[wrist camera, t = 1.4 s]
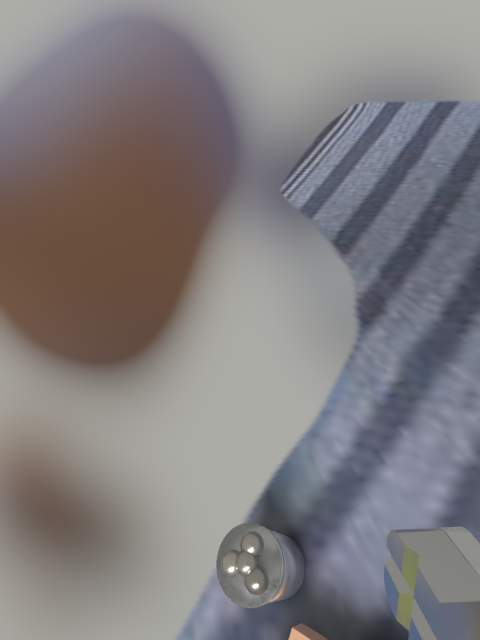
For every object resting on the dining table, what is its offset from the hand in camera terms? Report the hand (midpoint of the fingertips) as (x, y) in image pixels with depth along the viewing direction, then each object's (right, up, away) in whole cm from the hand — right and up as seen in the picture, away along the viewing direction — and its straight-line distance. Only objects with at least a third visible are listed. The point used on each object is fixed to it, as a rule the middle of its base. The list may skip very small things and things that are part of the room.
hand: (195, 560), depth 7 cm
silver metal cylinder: (+5, -20, +29) cm, 36 cm away
